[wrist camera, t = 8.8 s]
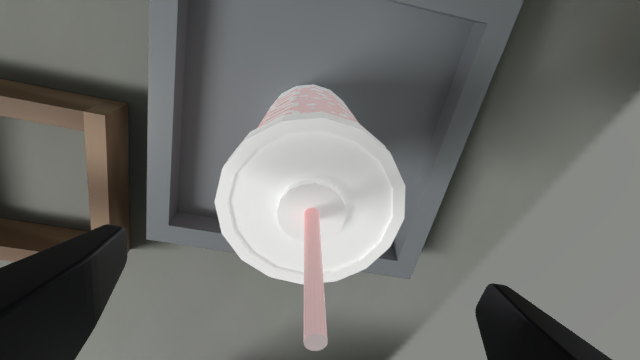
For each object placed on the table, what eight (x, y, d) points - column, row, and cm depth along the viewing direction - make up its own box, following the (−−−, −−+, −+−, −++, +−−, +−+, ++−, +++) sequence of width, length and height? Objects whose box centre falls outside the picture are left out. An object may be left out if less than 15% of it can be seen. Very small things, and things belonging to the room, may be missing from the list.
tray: (400, 254, 25) (409, 279, 22) (162, 216, 23) (146, 239, 21) (496, 1, 18) (523, 0, 16) (171, -82, 16) (150, -97, 14)
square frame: (129, 249, 24) (111, 274, 22) (-36, 225, 23) (-73, 249, 20) (128, 103, 20) (104, 115, 17) (-74, 64, 18) (-127, 72, 16)
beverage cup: (350, 53, 18) (455, 161, 5) (374, 161, 21) (485, 404, 8) (235, 88, 18) (85, 258, 6) (273, 188, 21) (226, 457, 8)
